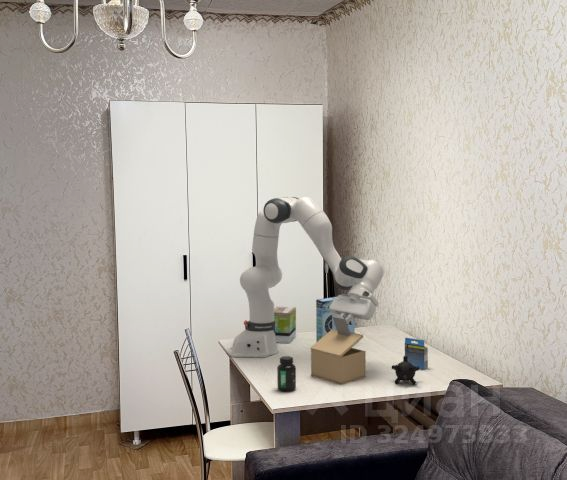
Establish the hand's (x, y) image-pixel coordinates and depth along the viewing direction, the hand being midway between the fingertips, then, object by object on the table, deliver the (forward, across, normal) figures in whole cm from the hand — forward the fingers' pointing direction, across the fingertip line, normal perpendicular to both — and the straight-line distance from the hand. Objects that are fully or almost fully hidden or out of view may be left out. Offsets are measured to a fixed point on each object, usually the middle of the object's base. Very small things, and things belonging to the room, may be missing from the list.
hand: (342, 324), depth 279 cm
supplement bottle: (+34, -2, -6) cm, 35 cm away
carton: (+16, 0, +12) cm, 21 cm away
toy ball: (+8, +24, +22) cm, 33 cm away
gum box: (-7, -33, +36) cm, 49 cm away
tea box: (-1, -60, +31) cm, 68 cm away
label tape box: (-6, +13, +36) cm, 38 cm away
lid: (+7, 0, +3) cm, 8 cm away
